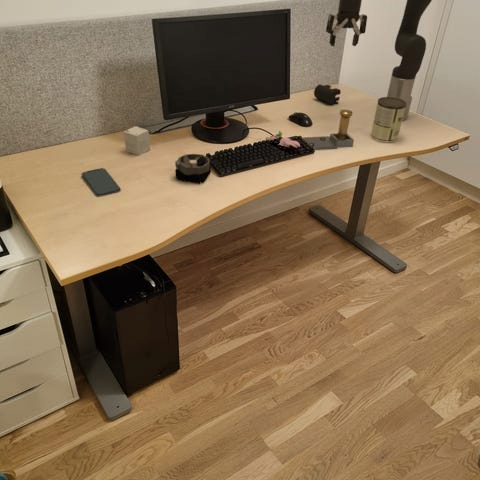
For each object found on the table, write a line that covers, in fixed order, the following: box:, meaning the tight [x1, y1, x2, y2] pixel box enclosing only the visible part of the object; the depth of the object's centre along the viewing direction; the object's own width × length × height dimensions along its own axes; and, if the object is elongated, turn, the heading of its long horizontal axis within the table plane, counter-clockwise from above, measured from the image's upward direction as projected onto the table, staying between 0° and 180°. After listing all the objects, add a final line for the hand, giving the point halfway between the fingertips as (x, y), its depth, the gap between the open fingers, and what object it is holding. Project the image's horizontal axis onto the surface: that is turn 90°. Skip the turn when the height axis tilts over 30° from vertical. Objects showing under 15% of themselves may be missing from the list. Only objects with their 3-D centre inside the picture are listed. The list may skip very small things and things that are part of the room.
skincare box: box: [123, 125, 151, 156], centre depth 158 cm, size 6×6×7 cm
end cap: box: [313, 84, 341, 106], centre depth 207 cm, size 10×7×7 cm
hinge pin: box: [337, 109, 353, 140], centre depth 169 cm, size 4×4×12 cm
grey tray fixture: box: [302, 132, 355, 151], centre depth 170 cm, size 19×9×2 cm, turn 102°
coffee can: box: [370, 96, 407, 144], centre depth 174 cm, size 10×10×14 cm
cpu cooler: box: [174, 153, 212, 185], centre depth 145 cm, size 10×6×10 cm
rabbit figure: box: [264, 130, 301, 149], centre depth 166 cm, size 6×6×15 cm
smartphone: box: [81, 167, 122, 198], centre depth 140 cm, size 8×2×15 cm
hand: (343, 45), depth 169 cm, fingers open, 8 cm apart
